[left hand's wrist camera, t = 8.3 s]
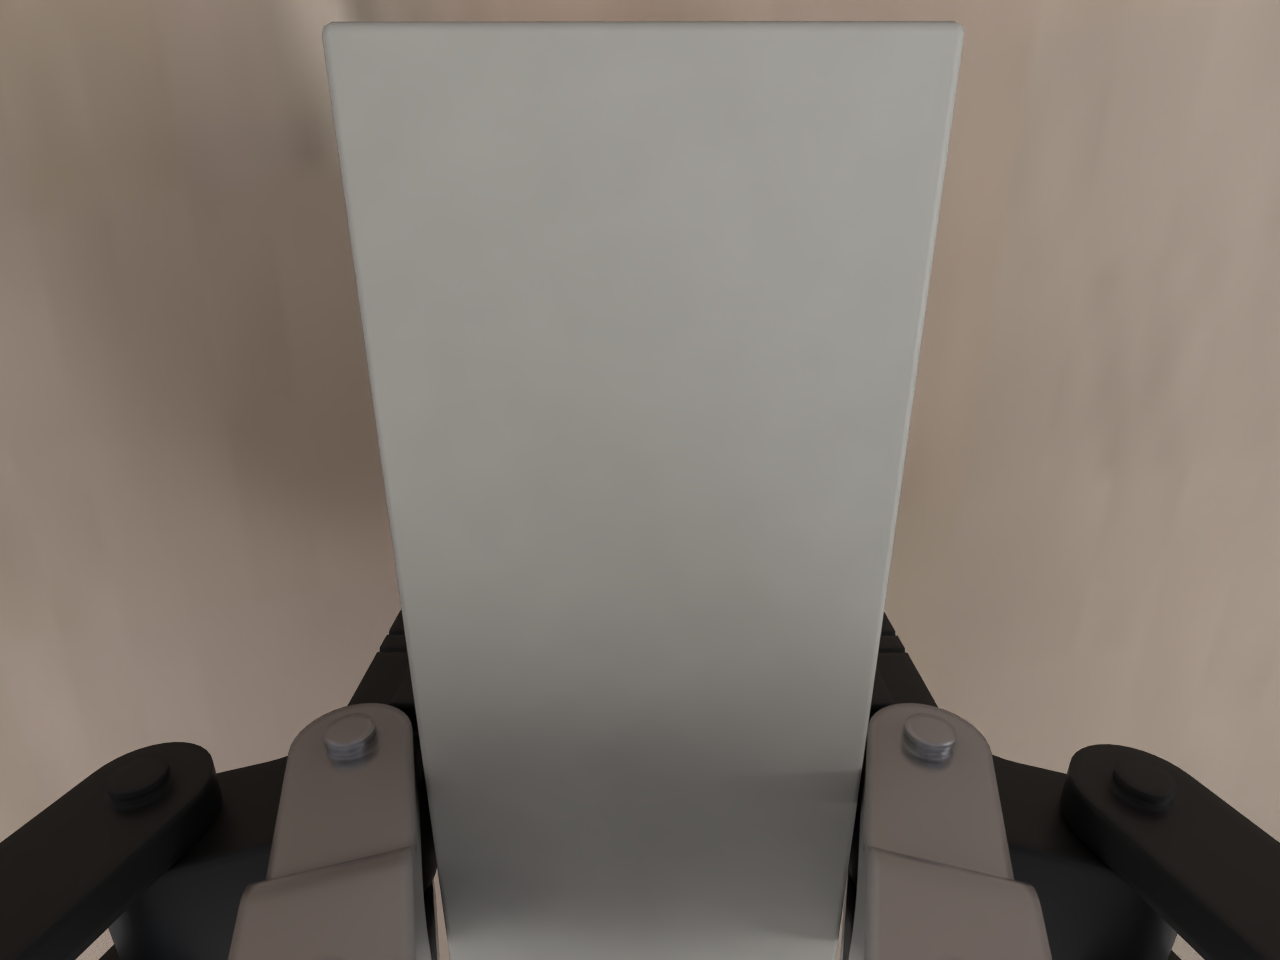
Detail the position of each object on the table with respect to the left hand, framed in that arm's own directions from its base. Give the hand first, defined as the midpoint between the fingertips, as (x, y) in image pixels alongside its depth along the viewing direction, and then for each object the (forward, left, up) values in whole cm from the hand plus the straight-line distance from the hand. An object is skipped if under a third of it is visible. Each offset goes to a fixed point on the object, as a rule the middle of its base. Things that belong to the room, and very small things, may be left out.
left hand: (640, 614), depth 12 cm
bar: (+29, 0, -2) cm, 29 cm away
